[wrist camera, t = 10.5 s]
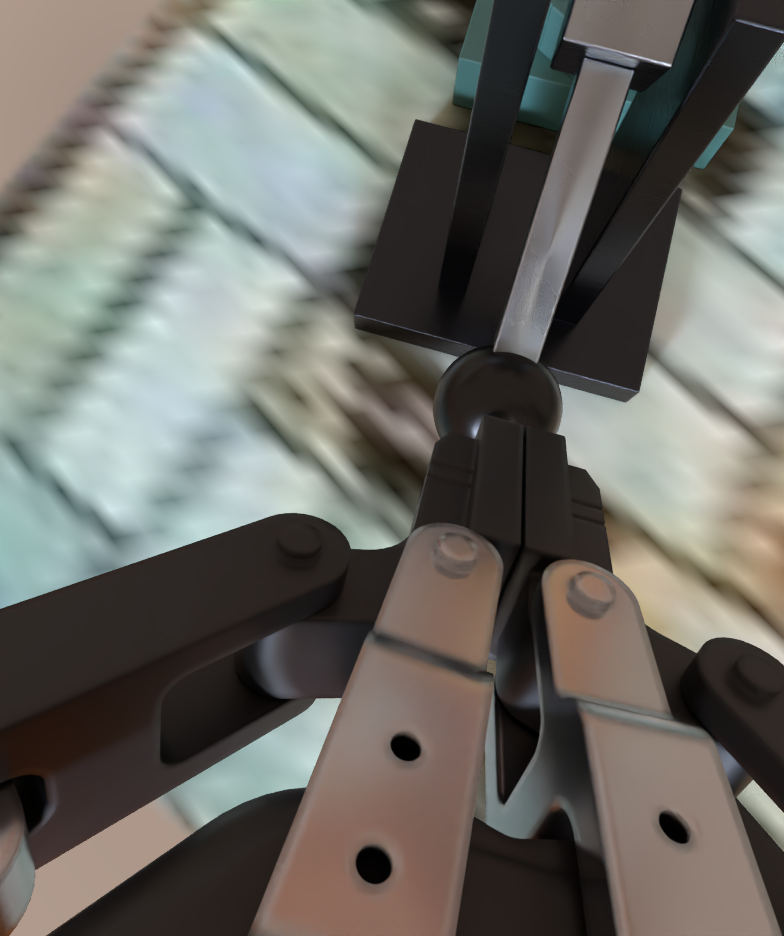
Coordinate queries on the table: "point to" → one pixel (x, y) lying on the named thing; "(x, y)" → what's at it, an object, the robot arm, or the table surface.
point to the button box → (541, 77)
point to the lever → (561, 208)
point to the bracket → (516, 189)
